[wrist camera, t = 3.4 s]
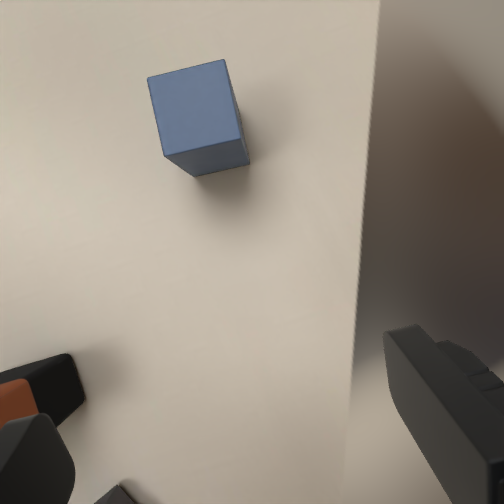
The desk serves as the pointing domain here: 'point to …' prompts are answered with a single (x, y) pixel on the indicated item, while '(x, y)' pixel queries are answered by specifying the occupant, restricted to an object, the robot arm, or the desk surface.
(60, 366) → the battery
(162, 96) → the blue block
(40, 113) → the desk surface
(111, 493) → the electronic device
